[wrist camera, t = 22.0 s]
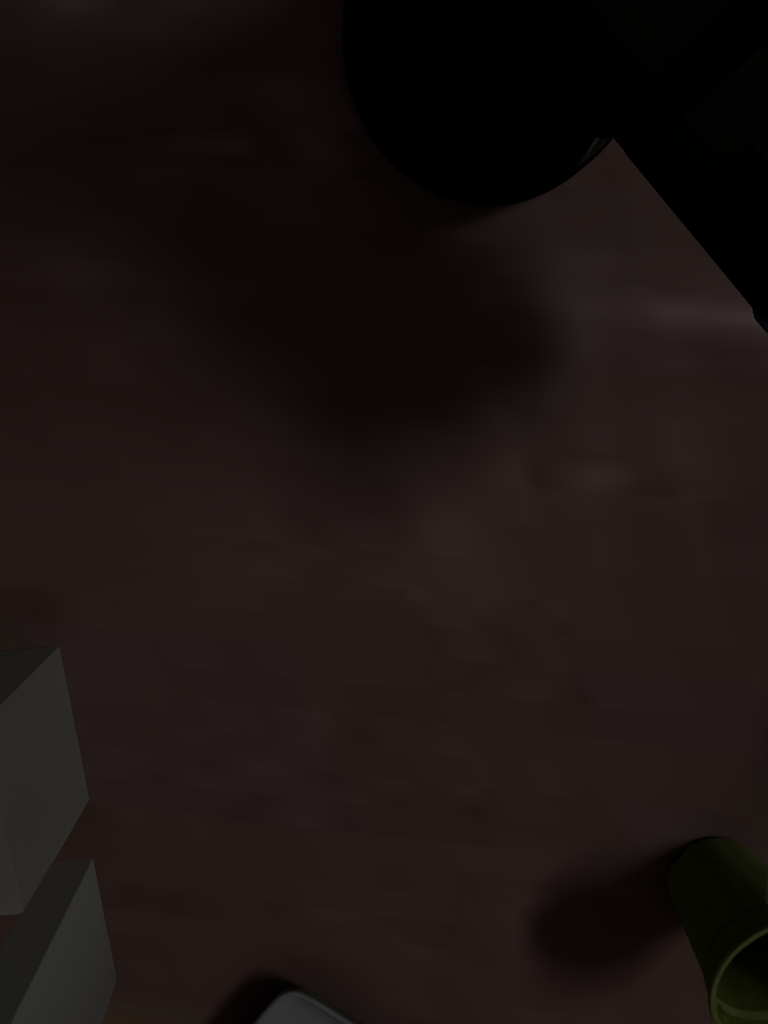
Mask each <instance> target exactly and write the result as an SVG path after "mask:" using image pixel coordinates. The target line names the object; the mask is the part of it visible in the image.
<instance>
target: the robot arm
mask: <svg viewBox="0 0 768 1024" xmlns="http://www.w3.org/2000/svg"><path fill="white" fill-rule="evenodd" d="M342 41H343V57H344V66H345V71H346V77H347V81H348V85H349V89H350V92H351V96H352V99H353V102H354V104H355V107H356V109H357V112H358V114H359V116H360V118H361V120H362V122H363V124H364V126H365V128H366V130H367V131H368V133H369V135H370V136H371V138H372V139H373V141H374V142H375V144H376V145H377V147H378V148H379V149H380V150H381V152H382V153H383V154H384V155H385V156H386V158H387V159H388V160H389V161H390V162H391V163H392V164H393V165H394V166H395V167H396V168H397V169H398V170H399V171H401V172H402V173H403V174H404V175H405V176H407V177H408V178H409V179H411V180H412V181H414V182H415V183H416V184H418V185H420V186H421V187H423V188H425V189H427V190H429V191H431V192H433V193H435V194H437V195H439V196H442V197H444V198H447V199H450V200H454V201H457V202H462V203H466V204H473V205H486V206H491V205H506V204H512V203H517V202H521V201H525V200H529V199H532V198H534V197H537V196H540V195H542V194H544V193H546V192H549V191H550V190H552V189H554V188H556V187H558V186H559V185H561V184H562V183H564V182H566V181H567V180H568V179H570V178H571V177H572V176H574V175H575V174H576V173H578V172H579V171H580V170H581V169H582V168H584V167H585V166H586V165H587V164H589V163H590V162H591V161H592V160H593V159H594V158H595V157H596V156H597V155H599V153H600V152H601V151H602V150H603V149H604V148H605V147H606V146H607V145H608V144H609V143H610V141H611V140H612V139H613V138H614V139H615V140H616V142H617V143H618V144H619V145H620V146H621V147H622V149H623V150H624V151H625V153H626V155H627V156H628V157H629V159H630V160H631V161H632V162H633V163H634V165H635V166H636V167H637V168H638V170H639V171H640V172H641V173H642V174H643V176H644V177H645V178H646V179H647V180H648V182H649V183H650V184H651V185H652V187H653V188H654V189H655V190H656V191H657V193H658V194H659V195H660V196H661V197H662V199H663V200H664V201H665V202H666V204H667V205H668V206H669V207H670V208H671V210H672V211H673V212H674V213H675V214H676V216H677V217H678V218H679V219H680V221H681V222H682V223H683V224H684V225H685V227H686V228H687V229H688V230H689V231H690V233H691V234H692V235H693V236H694V238H695V239H696V240H697V241H698V242H699V244H700V245H701V246H702V247H703V248H704V250H705V251H706V252H707V253H708V255H709V256H710V257H711V258H712V259H713V261H714V262H715V263H716V264H717V265H718V267H719V268H720V269H721V270H722V272H723V273H724V274H725V275H726V276H727V278H728V279H729V280H730V281H731V282H732V284H733V285H734V286H735V287H736V289H737V290H738V291H739V292H740V293H741V295H742V296H743V297H744V298H745V299H746V301H747V302H748V303H749V304H750V306H751V307H752V309H753V314H754V318H755V319H756V321H757V322H758V323H759V324H760V326H761V327H762V328H763V329H764V330H765V331H766V332H767V333H768V0H344V4H343V38H342ZM765 902H766V903H767V905H768V866H767V883H766V900H765ZM116 981H117V979H116V974H115V969H114V964H113V959H112V954H111V949H110V944H109V939H108V934H107V929H106V924H105V919H104V914H103V909H102V904H101V899H100V894H99V889H98V884H97V879H96V874H95V869H94V864H93V859H90V860H82V861H73V862H64V863H55V864H50V866H49V868H48V870H47V871H46V873H45V875H44V877H43V878H42V880H41V882H40V884H39V885H38V887H37V889H36V890H35V892H34V894H33V896H32V897H31V899H30V901H29V903H28V904H27V906H26V908H25V909H24V911H23V913H22V915H21V916H20V918H19V920H18V922H17V923H16V925H15V927H14V928H13V930H12V932H11V934H10V935H9V937H8V939H7V941H6V942H5V944H4V946H3V948H2V949H1V951H0V1024H101V1023H102V1020H103V1017H104V1014H105V1011H106V1009H107V1006H108V1003H109V1000H110V998H111V995H112V992H113V989H114V987H115V984H116Z"/></svg>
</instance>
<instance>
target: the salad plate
mask: <svg viewBox="0 0 768 1024" xmlns="http://www.w3.org/2000/svg"><path fill="white" fill-rule="evenodd" d="M253 1024H361V1023H359V1022H358V1021H356V1020H354V1019H353V1018H351V1017H349V1016H348V1015H346V1014H345V1013H343V1012H342V1011H340V1010H338V1009H337V1008H335V1007H334V1006H332V1005H331V1004H329V1003H328V1002H326V1001H324V1000H323V999H321V998H320V997H318V996H317V995H315V994H313V993H312V992H310V991H308V990H305V989H303V988H298V987H292V988H287V989H285V990H282V991H281V992H280V993H278V994H277V995H276V997H275V998H274V999H273V1000H272V1001H271V1002H270V1004H269V1005H268V1006H267V1007H266V1008H265V1009H264V1011H263V1012H262V1013H261V1014H260V1015H259V1017H258V1018H257V1019H256V1021H255V1022H254V1023H253Z"/></svg>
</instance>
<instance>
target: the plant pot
mask: <svg viewBox="0 0 768 1024" xmlns="http://www.w3.org/2000/svg"><path fill="white" fill-rule="evenodd" d="M766 883H767V867H765V866H764V865H763V864H762V863H761V862H760V861H759V860H758V859H757V858H755V857H754V856H753V855H752V854H751V853H750V852H749V851H748V850H747V849H746V848H744V847H743V846H741V845H740V844H738V843H736V842H734V841H732V840H730V839H726V838H708V839H704V840H701V841H698V842H696V843H693V844H691V845H690V846H688V847H687V848H686V850H685V852H684V853H683V855H682V856H681V857H680V858H679V859H678V860H677V861H676V862H674V863H672V865H671V867H670V869H669V872H668V876H667V888H668V892H669V895H670V897H671V900H672V902H673V904H674V907H675V909H676V911H677V913H678V916H679V918H680V920H681V922H682V925H683V927H684V930H685V932H686V934H687V937H688V939H689V941H690V943H691V946H692V948H693V951H694V953H695V955H696V958H697V960H698V962H699V965H700V967H701V970H702V972H703V975H704V981H705V986H706V990H707V992H708V1005H709V1011H710V1014H711V1017H712V1019H713V1022H714V1024H768V905H767V903H766V902H765V900H766Z"/></svg>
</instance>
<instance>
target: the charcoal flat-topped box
mask: <svg viewBox="0 0 768 1024" xmlns="http://www.w3.org/2000/svg"><path fill="white" fill-rule="evenodd" d="M88 800H89V796H88V790H87V785H86V780H85V775H84V770H83V765H82V760H81V754H80V749H79V744H78V739H77V734H76V729H75V723H74V718H73V713H72V708H71V703H70V698H69V693H68V687H67V682H66V677H65V672H64V667H63V662H62V657H61V651H60V646H55V647H45V648H34V649H24V650H13V651H3V652H0V916H1V915H10V914H18V913H23V911H24V909H25V908H26V906H27V904H28V903H29V901H30V899H31V897H32V896H33V894H34V892H35V890H36V889H37V887H38V885H39V884H40V882H41V880H42V878H43V877H44V875H45V873H46V871H47V870H48V868H49V866H50V864H52V863H53V861H54V860H55V858H56V856H57V854H58V853H59V851H60V849H61V847H62V846H63V844H64V842H65V840H66V839H67V837H68V835H69V833H70V832H71V830H72V828H73V827H74V825H75V823H76V821H77V820H78V818H79V816H80V814H81V813H82V811H83V809H84V807H85V806H86V804H87V802H88Z"/></svg>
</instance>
